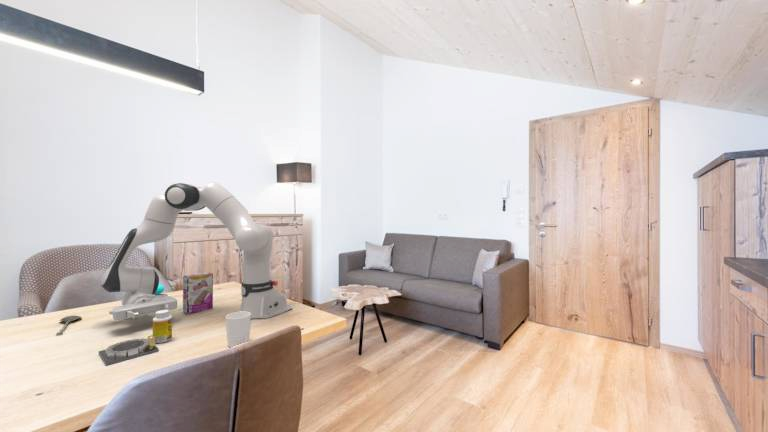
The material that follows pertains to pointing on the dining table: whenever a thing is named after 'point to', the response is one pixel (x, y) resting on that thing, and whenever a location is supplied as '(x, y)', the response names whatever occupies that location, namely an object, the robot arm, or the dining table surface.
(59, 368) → the dining table surface
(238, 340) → the white cup
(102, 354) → the dock
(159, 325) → the supplement bottle
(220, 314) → the dining table surface
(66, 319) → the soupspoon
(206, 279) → the candy bar box
